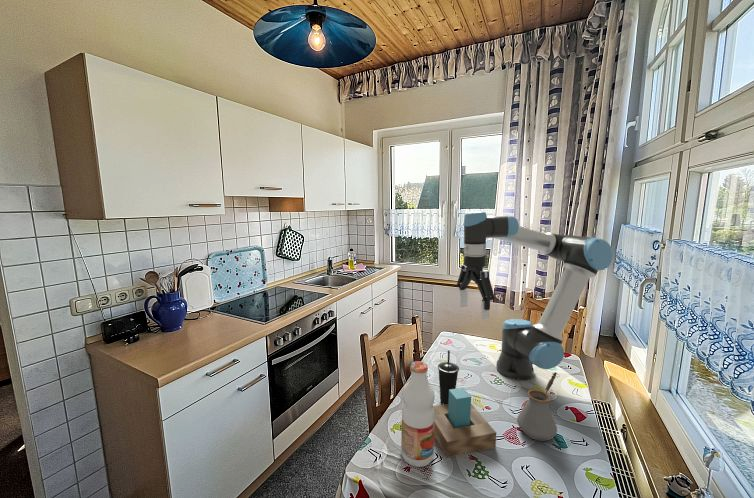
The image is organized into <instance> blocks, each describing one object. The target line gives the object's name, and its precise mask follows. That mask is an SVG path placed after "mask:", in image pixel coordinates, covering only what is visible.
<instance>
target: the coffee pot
mask: <svg viewBox="0 0 754 498" xmlns="http://www.w3.org/2000/svg"><path fill="white" fill-rule="evenodd" d="M557 375H558V376H560V374H558V373H557V372H556V371H554V372H553V373H552V375H551V377H550V379H549V380H548V383H547V385H546V387H545V390H544V391H542V390H540V389H529V390H528V391H527V396H528V398H529V399H528V400H527V402H526V403H525V405H524V406H523V407H522V409H521V411H520V413H519V414H518V415H517V417H516V421H517V424H518V427H519V428H520V430H521V431H522V432H523V433H524V434H525V435H526V436H527V437H529V438H530V439H532V440H536V441H540V442H545V441H548V440H551V439H553V438H554V437H555V436H556V435H557V432H558V428H557V425H556V422H555V419H554V417H553V414H552V412H551V409H550V407H549V403H551V401H552V400H551V396H550V395H549V394H548V392H549V390H550V389H551V387H552V386H553V384H554V381H555V380H556V378H557Z"/></svg>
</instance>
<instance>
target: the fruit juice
mask: <svg viewBox="0 0 754 498" xmlns="http://www.w3.org/2000/svg"><path fill="white" fill-rule="evenodd" d="M428 369H429V367H428V364H427V362H423V361H418V360H416V361H413V362H411V363H410V366H409V370H410V376H409V380H408V382H406V383H405V384H404V386H403V388H402V400H403V404H402V407H401V429H400V430H401V431H400V432H401V434H400V435H401V437H400V438H401V441H400V443H401V446H400V448H401V457H402V458H403V460H404V461H405V462H406V463H407V464H408V465H410V466H411V467H416V468H421V467H427V466H428V465H429V464H430V463H432V461H433V458H434V452H435V451H434V449H435V448H434V447H435V446H434V445H435V436H434V420H435V414H434V407H433V406H434V401H435V391H434V388H433V387H432V385H431V383H430V382H429V380H428V376H427V373H428V371H429V370H428Z"/></svg>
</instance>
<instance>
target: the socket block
mask: <svg viewBox="0 0 754 498" xmlns="http://www.w3.org/2000/svg"><path fill="white" fill-rule="evenodd" d="M448 405H449V404H437V405H433V407H434V414H435V420H434V439H435V440H436V441H437V443H438V445H439V447H440V448H441V450H442V451H443V454H444V455H445V456H446V458H451V457H456V456H462V455H466V454H471V453H475V452H476V453H477V452H481V451H485V450H491V449H495V448H496V446H497V445H496V444H497V443H496V442H497V431H496V430H495V429H494V428H493V427H492V426H491V425H490V424H489V421H487V419H485V418H484V417H483V415H482V414H481V413H480V412H479V410H478V409H477V408H476V407H475V406H474V405H473V404H472V403H471V414H470V426H466V427H460V428H455V429H454V428H453V426H452V425H451V423H450V422H449V420H448Z"/></svg>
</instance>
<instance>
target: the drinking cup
mask: <svg viewBox="0 0 754 498" xmlns="http://www.w3.org/2000/svg"><path fill="white" fill-rule="evenodd" d="M450 355H451V350H447V361H446V362H445V361H443V362H440V363H439V364H438V365H437V369H438V379H439V380H438V382H439V394H440V395H439V397H440V398H439V399H440V403H441V405H443V404H449V390H450V389H457V382H458V374H459V372H460V367H459V366H458V365H457V364H456V363H453V362H451V360H450V358H451V357H450Z"/></svg>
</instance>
